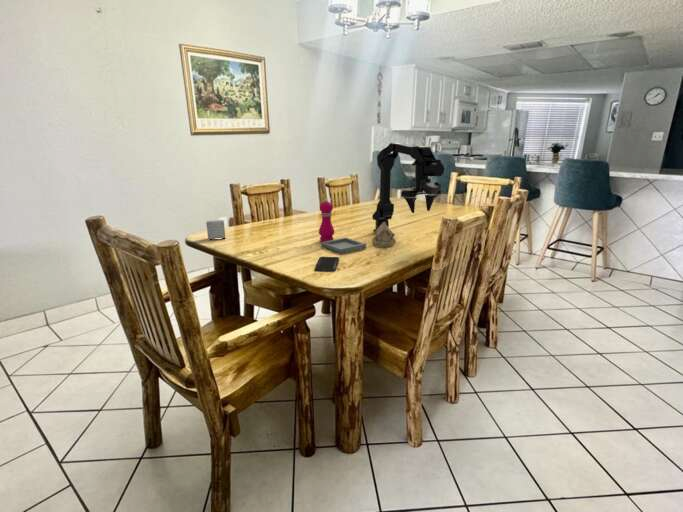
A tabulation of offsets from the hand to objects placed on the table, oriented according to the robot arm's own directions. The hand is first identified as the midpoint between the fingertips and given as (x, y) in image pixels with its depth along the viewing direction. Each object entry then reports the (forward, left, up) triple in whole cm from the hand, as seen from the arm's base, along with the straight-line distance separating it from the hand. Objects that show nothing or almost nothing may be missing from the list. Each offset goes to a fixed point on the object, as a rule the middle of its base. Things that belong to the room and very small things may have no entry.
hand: (420, 211), depth 161 cm
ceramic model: (-10, -12, -15) cm, 22 cm away
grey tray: (-16, -32, -15) cm, 38 cm away
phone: (-2, -51, -15) cm, 53 cm away
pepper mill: (-30, -30, -15) cm, 45 cm away
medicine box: (-66, -70, -15) cm, 97 cm away
